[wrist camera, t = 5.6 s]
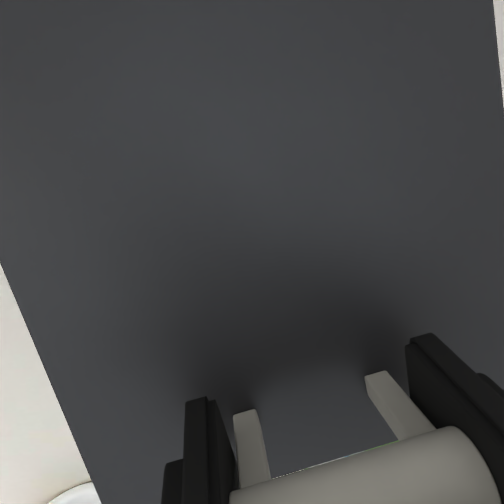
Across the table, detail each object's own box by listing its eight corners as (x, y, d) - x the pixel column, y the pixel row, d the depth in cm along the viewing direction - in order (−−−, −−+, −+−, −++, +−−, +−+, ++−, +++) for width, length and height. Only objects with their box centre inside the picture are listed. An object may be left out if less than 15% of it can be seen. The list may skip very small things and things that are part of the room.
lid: (514, 386, 13) (713, 530, 8) (116, 506, 13) (51, 746, 7) (449, -203, 10) (742, -656, 4) (-121, -75, 9) (-595, -420, 4)
